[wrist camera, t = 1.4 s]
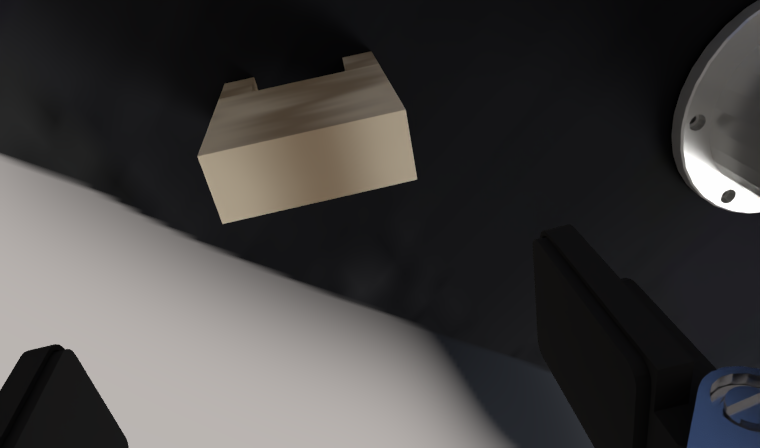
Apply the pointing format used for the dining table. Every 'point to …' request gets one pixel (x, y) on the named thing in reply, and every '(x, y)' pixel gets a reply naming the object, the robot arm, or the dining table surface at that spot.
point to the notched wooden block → (305, 141)
